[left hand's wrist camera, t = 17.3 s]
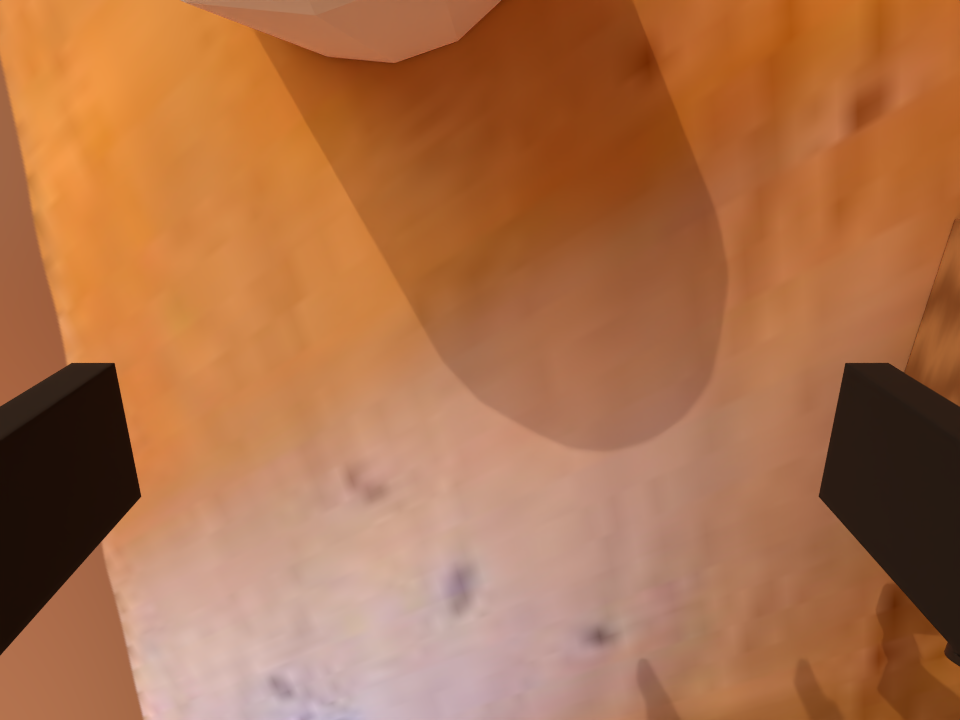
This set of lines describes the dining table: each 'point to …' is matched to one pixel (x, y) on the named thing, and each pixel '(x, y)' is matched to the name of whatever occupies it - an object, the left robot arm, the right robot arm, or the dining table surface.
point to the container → (357, 24)
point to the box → (941, 328)
